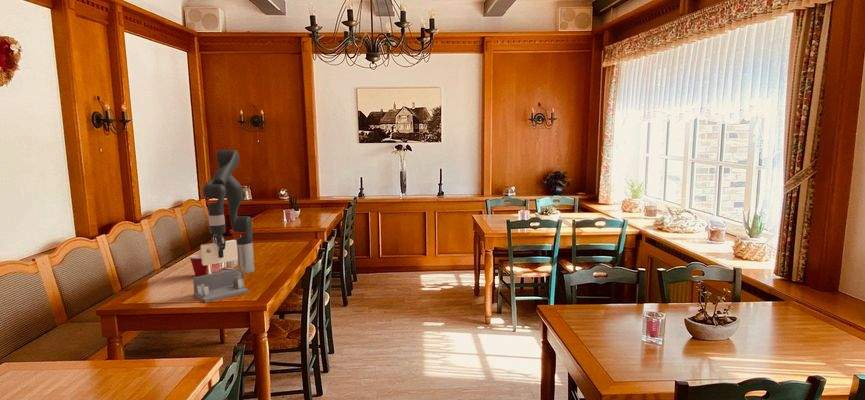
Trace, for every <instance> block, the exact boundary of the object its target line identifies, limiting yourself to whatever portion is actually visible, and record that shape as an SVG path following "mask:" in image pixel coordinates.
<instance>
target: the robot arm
mask: <svg viewBox="0 0 865 400" xmlns="http://www.w3.org/2000/svg"><path fill="white" fill-rule="evenodd" d="M215 155H216V156H215V157H216V162H217V165H218V169H217V170H216V171H214V173H213V176H212V178H211V179H210V180H209V181H208V182H207V183H205V185H204V186H203V189H202V195H203V197H205V198H206V199H208V200H209V199H212V200H213V199H217V201H216V202H211V203H209V204H208V206H207V208H208V225H209V226H208V227H209V233H210V234H211V235H212V236H211V237H210V239H211V243H216V244H217V246H218V254H219V258H223V257H224V255H223V250H224V249H225V244H226V241H227V239H226V238H224V235H223V234H224V233H226V220H225V219H226V217H225V213H224V212H225V210H224V205H225V204H224V203H225V198H226V201H227V206H228V210H229V218H230V225H231V228H232V231H233V232H234V233H244V235H242V236H239V237H237V238H236V239H235V240H236V241H237V254H238V259H237V260H236V261H237V267H238V268H241V269H243V270H244V272H245V274H249V273H253V272H255V257H254V246H253V245H254V243H253V222H252V221H253V220H252V217H251V216H247V215H245V216H244V215H242V216H241V215H240V216H238V209H239V207H240V206H241V203H242V202H243V199H244V192H243V188H242V184H241V183H240V182H239V181H238V179H236V178H235V177H234V176H233V175H232V173H233V172H234V171H235V170H236V168H237V167H238V165H239V162H240V154H239V152H238V150H236V149H220V150H217V152H216V154H215ZM221 246H222V247H221Z"/></svg>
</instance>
